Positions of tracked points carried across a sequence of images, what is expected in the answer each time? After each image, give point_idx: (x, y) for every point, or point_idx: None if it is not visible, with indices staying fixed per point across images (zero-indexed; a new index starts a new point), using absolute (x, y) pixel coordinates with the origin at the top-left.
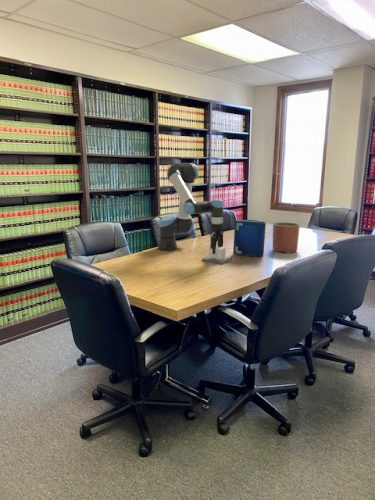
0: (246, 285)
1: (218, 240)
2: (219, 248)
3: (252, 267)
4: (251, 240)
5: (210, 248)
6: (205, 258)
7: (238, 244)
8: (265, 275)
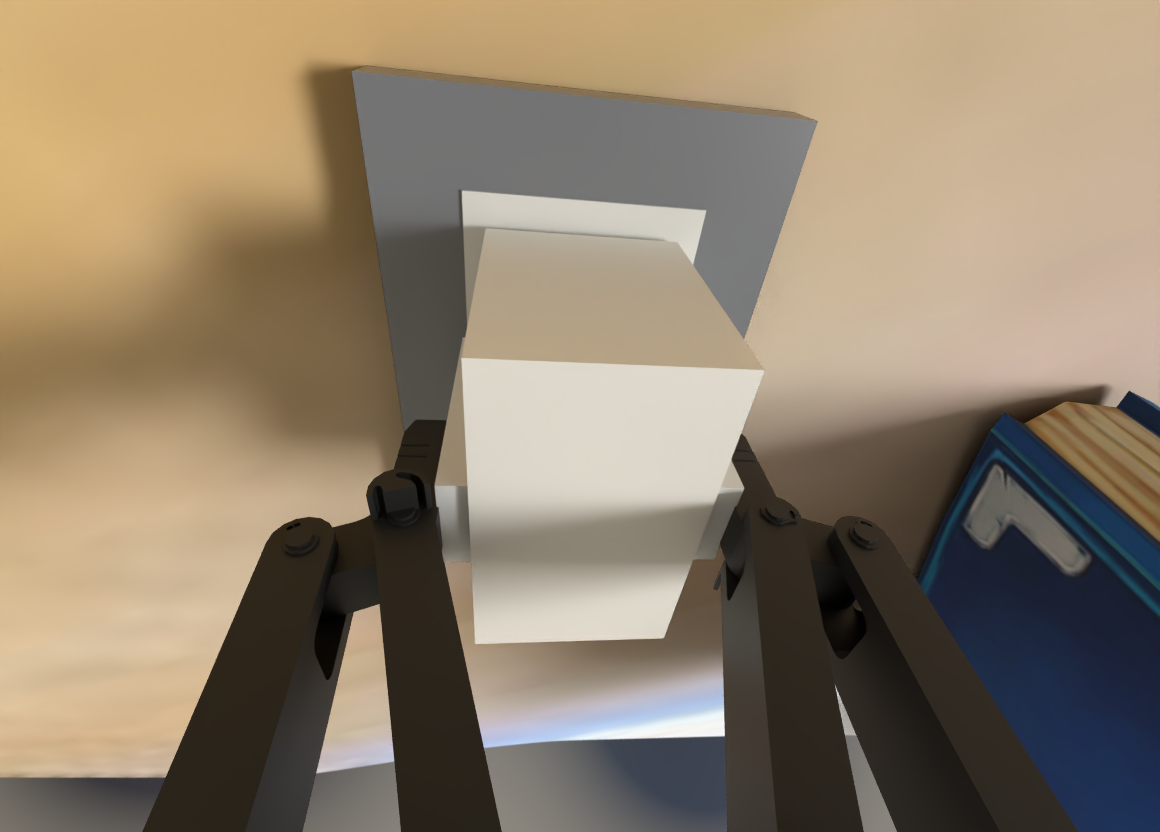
0: (42, 773)
1: (743, 733)
2: (520, 604)
3: (497, 682)
4: (1068, 801)
5: (466, 409)
6: (425, 162)
7: (1095, 620)
8: (357, 763)
